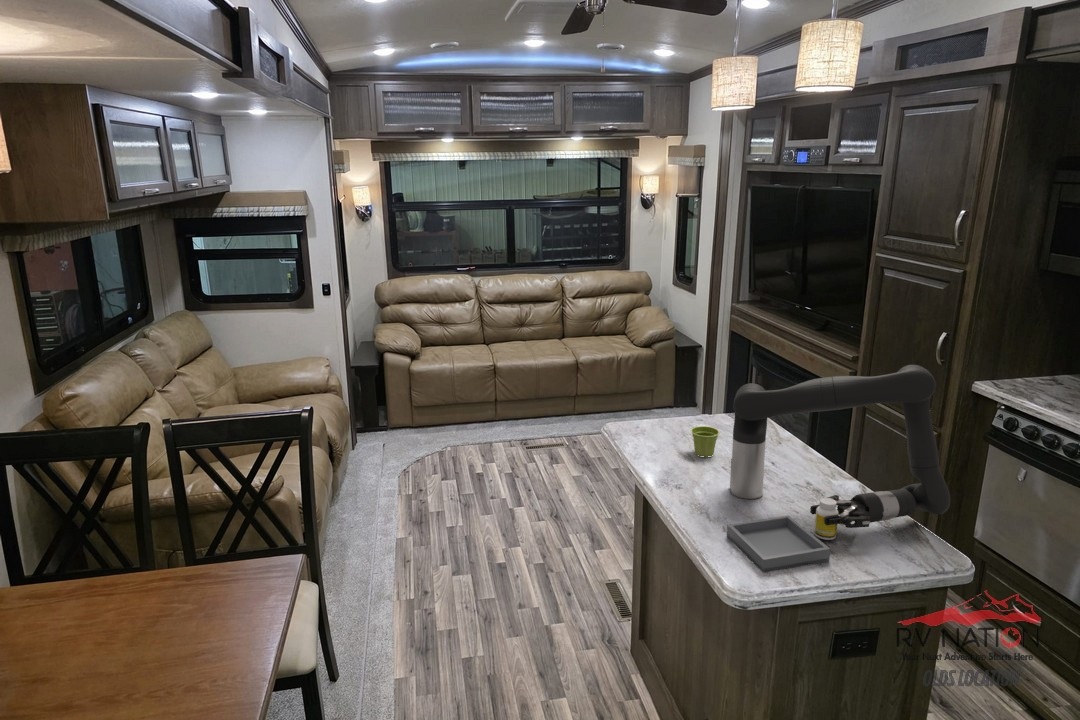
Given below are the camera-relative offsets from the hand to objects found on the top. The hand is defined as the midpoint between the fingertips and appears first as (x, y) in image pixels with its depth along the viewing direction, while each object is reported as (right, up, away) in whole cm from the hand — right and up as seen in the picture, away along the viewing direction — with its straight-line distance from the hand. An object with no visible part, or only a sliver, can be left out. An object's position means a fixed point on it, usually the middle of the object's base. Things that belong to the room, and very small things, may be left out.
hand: (818, 515), depth 179 cm
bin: (-12, -8, -2) cm, 14 cm away
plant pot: (-16, +8, +58) cm, 60 cm away
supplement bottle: (+3, -6, +2) cm, 7 cm away
